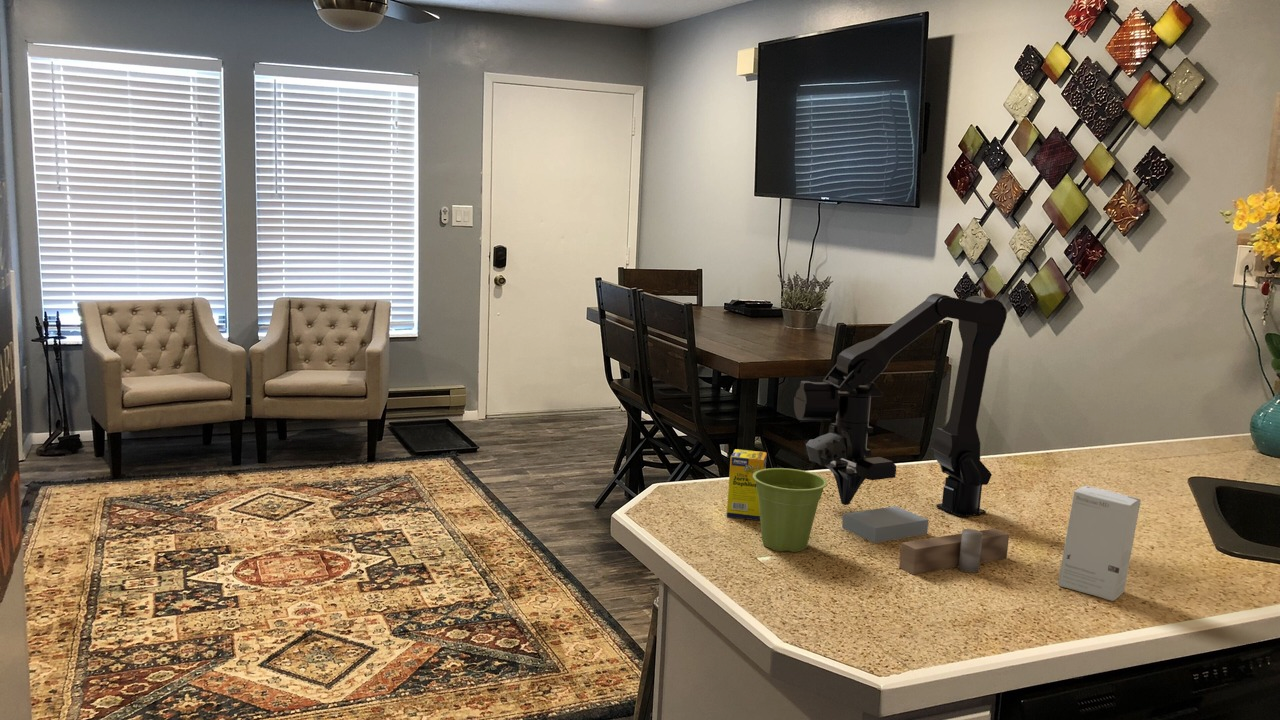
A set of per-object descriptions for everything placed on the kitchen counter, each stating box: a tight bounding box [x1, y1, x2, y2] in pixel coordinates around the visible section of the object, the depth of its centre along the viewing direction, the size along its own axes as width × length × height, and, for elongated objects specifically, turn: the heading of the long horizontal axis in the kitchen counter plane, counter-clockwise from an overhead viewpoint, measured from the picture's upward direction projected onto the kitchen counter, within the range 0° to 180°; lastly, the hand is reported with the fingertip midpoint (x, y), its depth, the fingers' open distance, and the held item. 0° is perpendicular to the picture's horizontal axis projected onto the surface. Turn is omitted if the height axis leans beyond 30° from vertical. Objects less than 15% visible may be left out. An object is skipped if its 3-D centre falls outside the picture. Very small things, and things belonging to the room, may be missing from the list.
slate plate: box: [841, 505, 930, 544], centre depth 170 cm, size 12×8×3 cm, turn 120°
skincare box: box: [1058, 485, 1142, 602], centre depth 146 cm, size 8×6×15 cm
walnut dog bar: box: [898, 528, 1010, 575], centre depth 154 cm, size 20×6×6 cm, turn 118°
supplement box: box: [726, 448, 768, 521], centre depth 174 cm, size 6×6×11 cm
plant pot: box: [753, 467, 828, 553], centre depth 159 cm, size 12×12×11 cm
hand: (845, 504), depth 179 cm, fingers closed
